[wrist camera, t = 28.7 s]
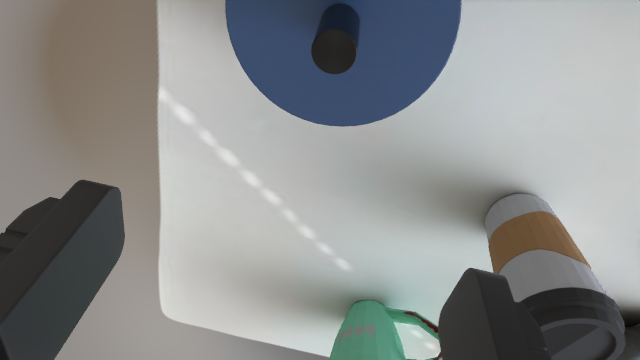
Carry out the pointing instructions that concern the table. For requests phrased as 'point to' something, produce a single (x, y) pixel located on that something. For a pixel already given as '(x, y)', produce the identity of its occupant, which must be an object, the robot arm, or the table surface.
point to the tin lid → (343, 53)
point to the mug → (376, 333)
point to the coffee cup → (553, 280)
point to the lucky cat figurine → (631, 344)
